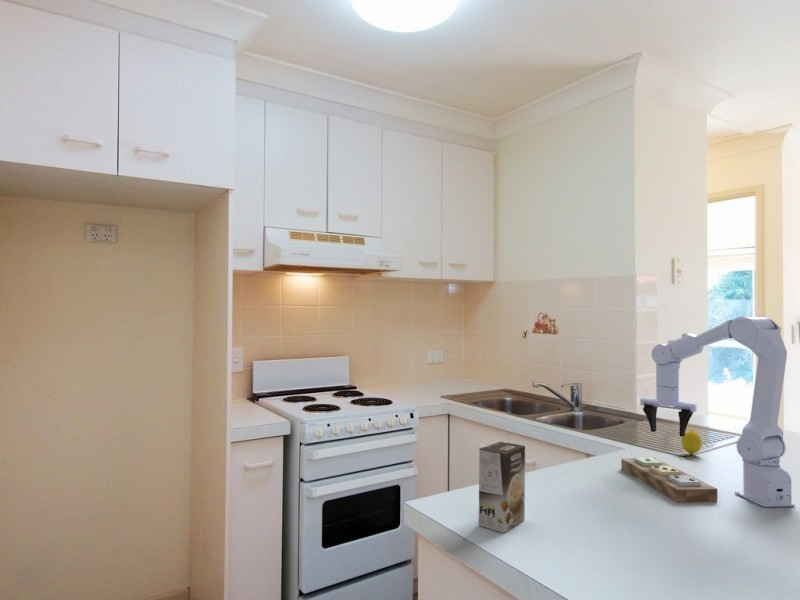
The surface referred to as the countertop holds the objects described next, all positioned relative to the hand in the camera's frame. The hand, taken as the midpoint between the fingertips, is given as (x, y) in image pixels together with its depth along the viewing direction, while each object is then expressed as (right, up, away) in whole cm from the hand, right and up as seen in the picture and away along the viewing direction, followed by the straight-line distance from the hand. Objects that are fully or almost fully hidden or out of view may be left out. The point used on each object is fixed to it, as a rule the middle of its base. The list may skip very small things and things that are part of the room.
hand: (667, 433), depth 148 cm
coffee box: (-55, -9, -39) cm, 68 cm away
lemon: (+15, -11, +15) cm, 24 cm away
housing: (-7, -10, -13) cm, 18 cm away
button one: (-8, -9, -5) cm, 13 cm away
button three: (-7, -9, -13) cm, 17 cm away
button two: (-7, -9, -21) cm, 23 cm away
